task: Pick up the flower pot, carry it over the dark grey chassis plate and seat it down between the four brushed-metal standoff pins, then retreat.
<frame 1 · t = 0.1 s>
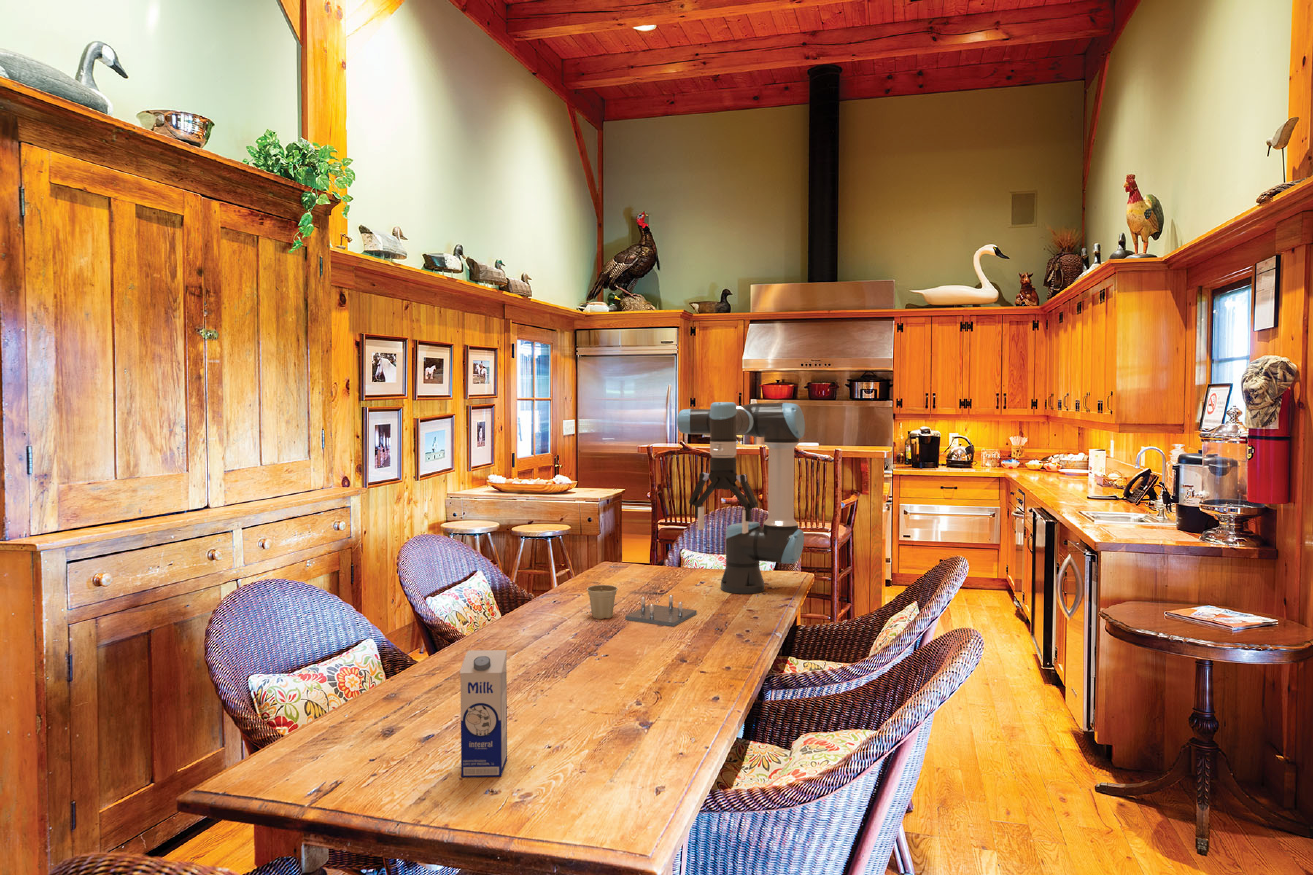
hand: (722, 531, 226), 28 cm above the table, fingers open, 13 cm apart
milk carton: (484, 769, 138), on the table
chassis: (661, 616, 239), on the table
flower pot: (602, 617, 240), on the table
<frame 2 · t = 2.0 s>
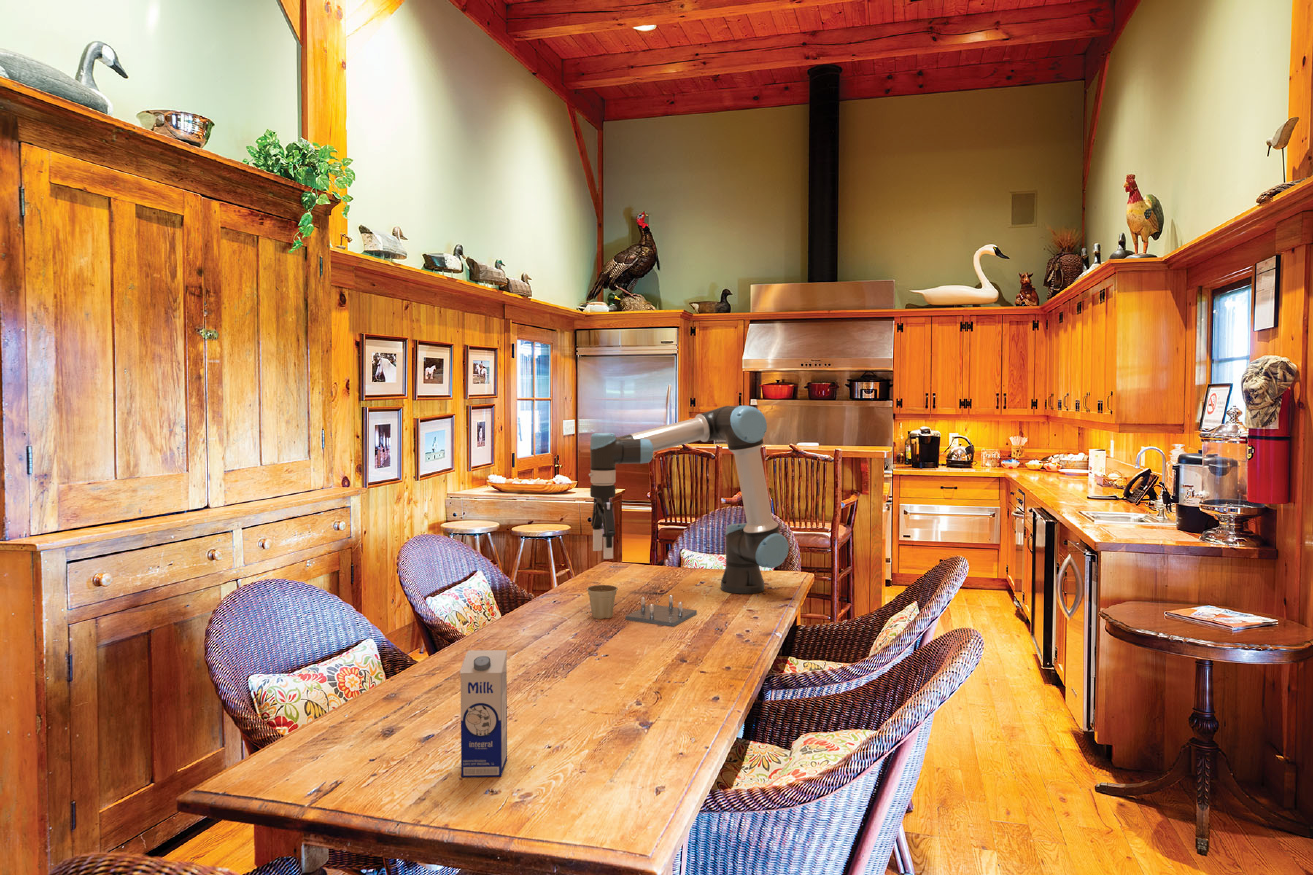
hand: (602, 554, 239), 19 cm above the table, fingers open, 13 cm apart
nothing on the table moved.
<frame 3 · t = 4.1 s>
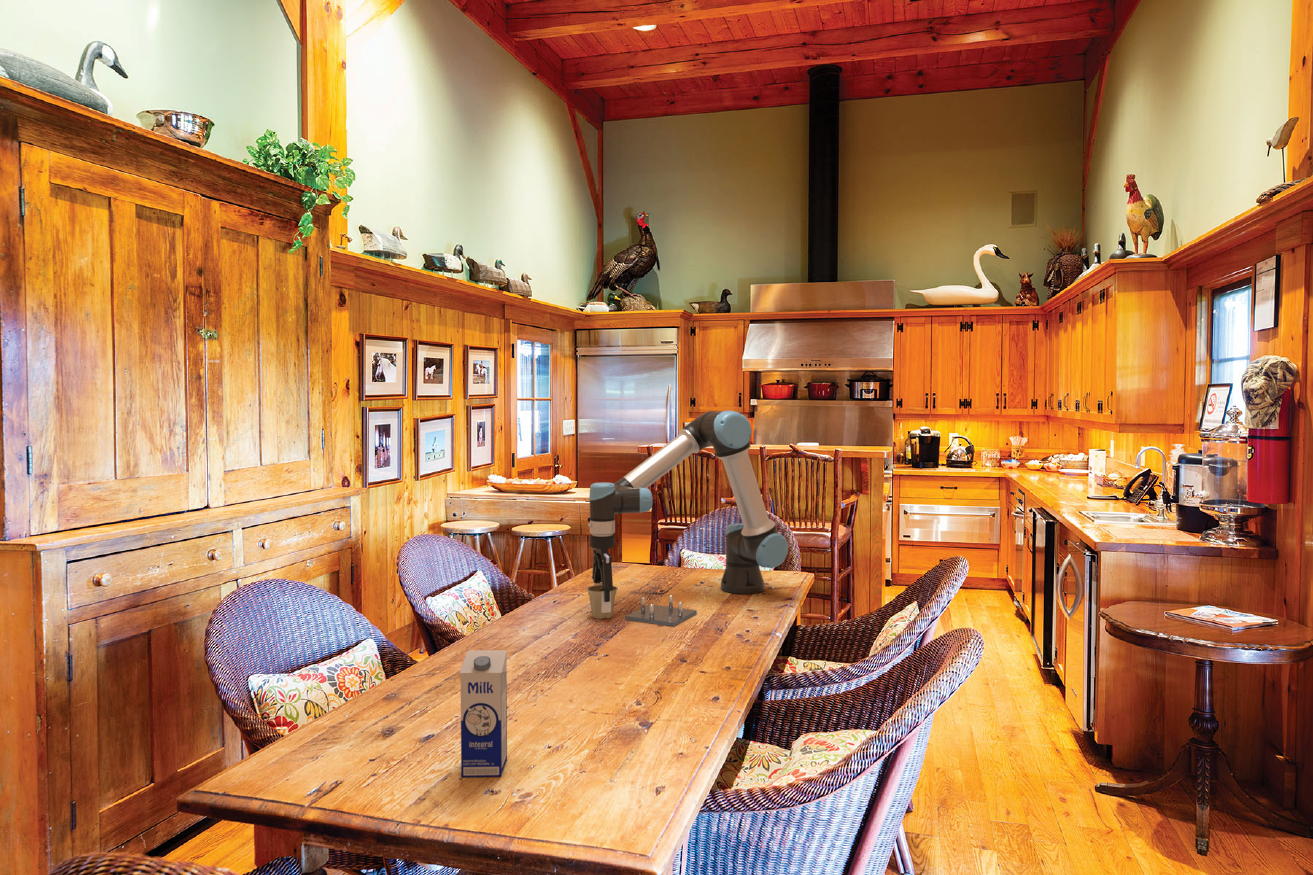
hand: (602, 608, 239), 3 cm above the table, fingers closed on flower pot, 9 cm apart
flower pot: (602, 617, 240), on the table, touching gripper
everything else where it was.
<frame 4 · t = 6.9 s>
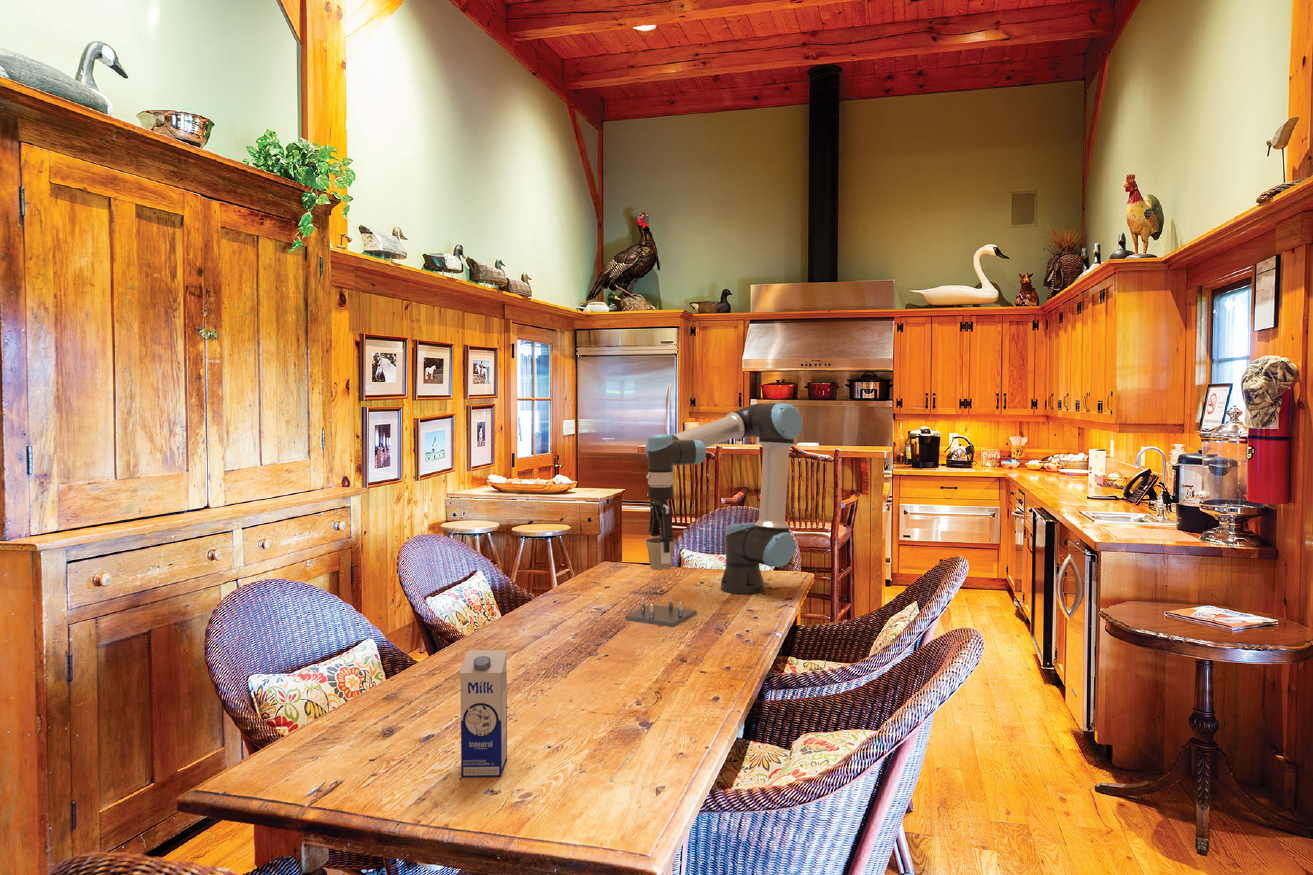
hand: (660, 560, 239), 17 cm above the table, fingers closed on flower pot, 9 cm apart
flower pot: (660, 569, 239), point 14 cm above the table, touching gripper
everything else where it was.
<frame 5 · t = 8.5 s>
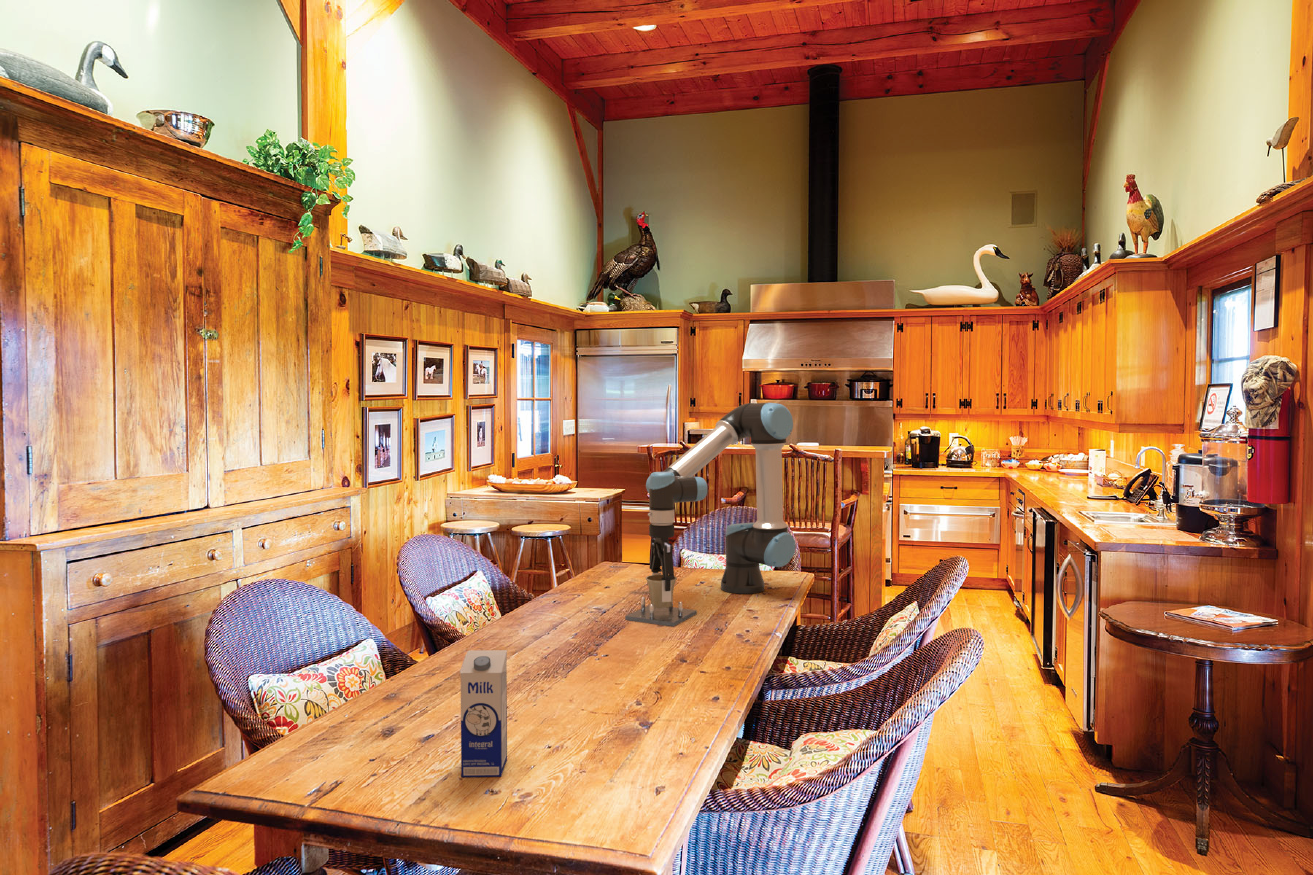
hand: (661, 597, 239), 6 cm above the table, fingers closed on flower pot, 9 cm apart
flower pot: (661, 606, 239), point 3 cm above the table, touching gripper
everything else where it was.
when the fingers open (5 cm above the table, at t = 9.5 s): flower pot drops 1 cm, resting on chassis.
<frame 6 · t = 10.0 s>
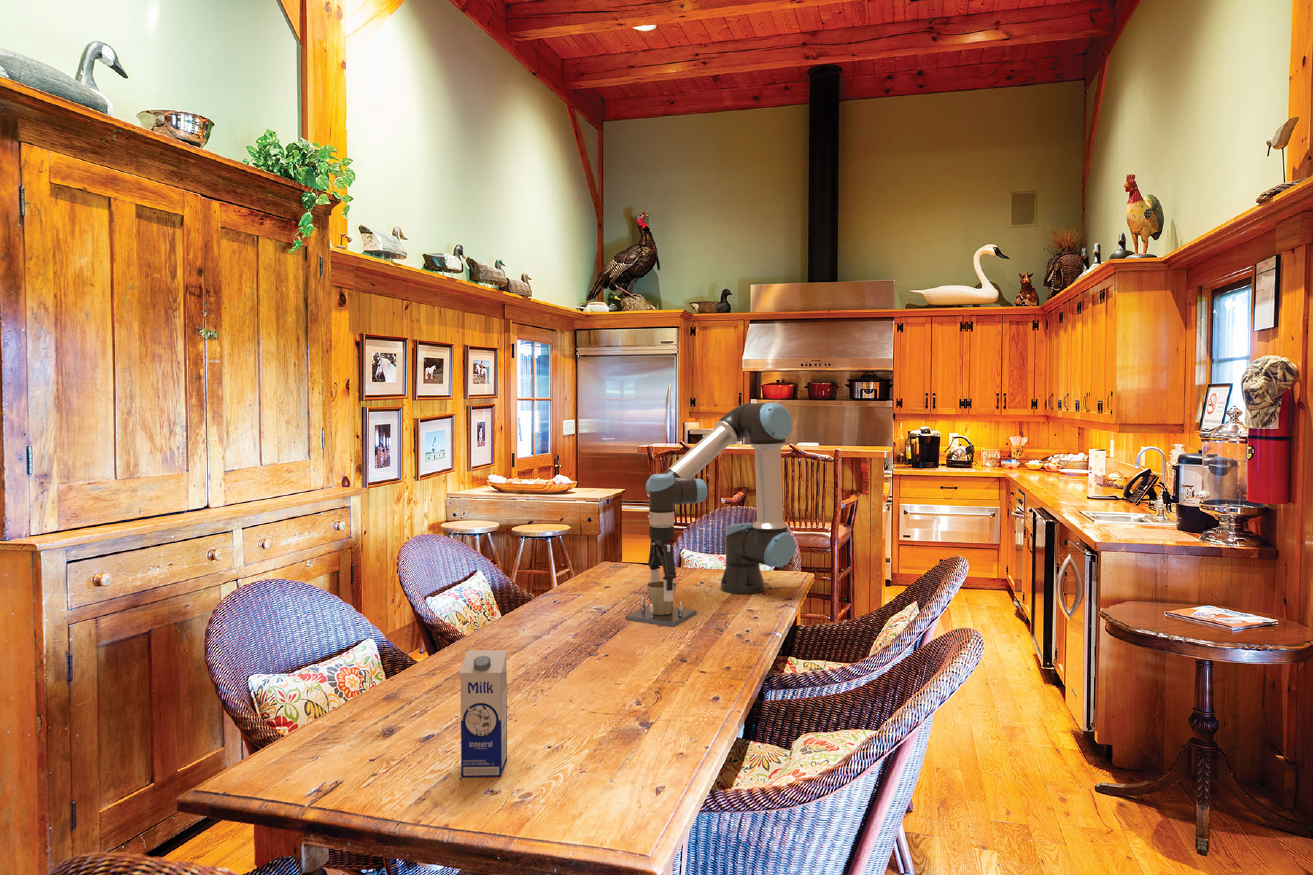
hand: (661, 595, 239), 6 cm above the table, fingers open, 13 cm apart
flower pot: (661, 613, 239), point 1 cm above the table, touching chassis
everything else where it was.
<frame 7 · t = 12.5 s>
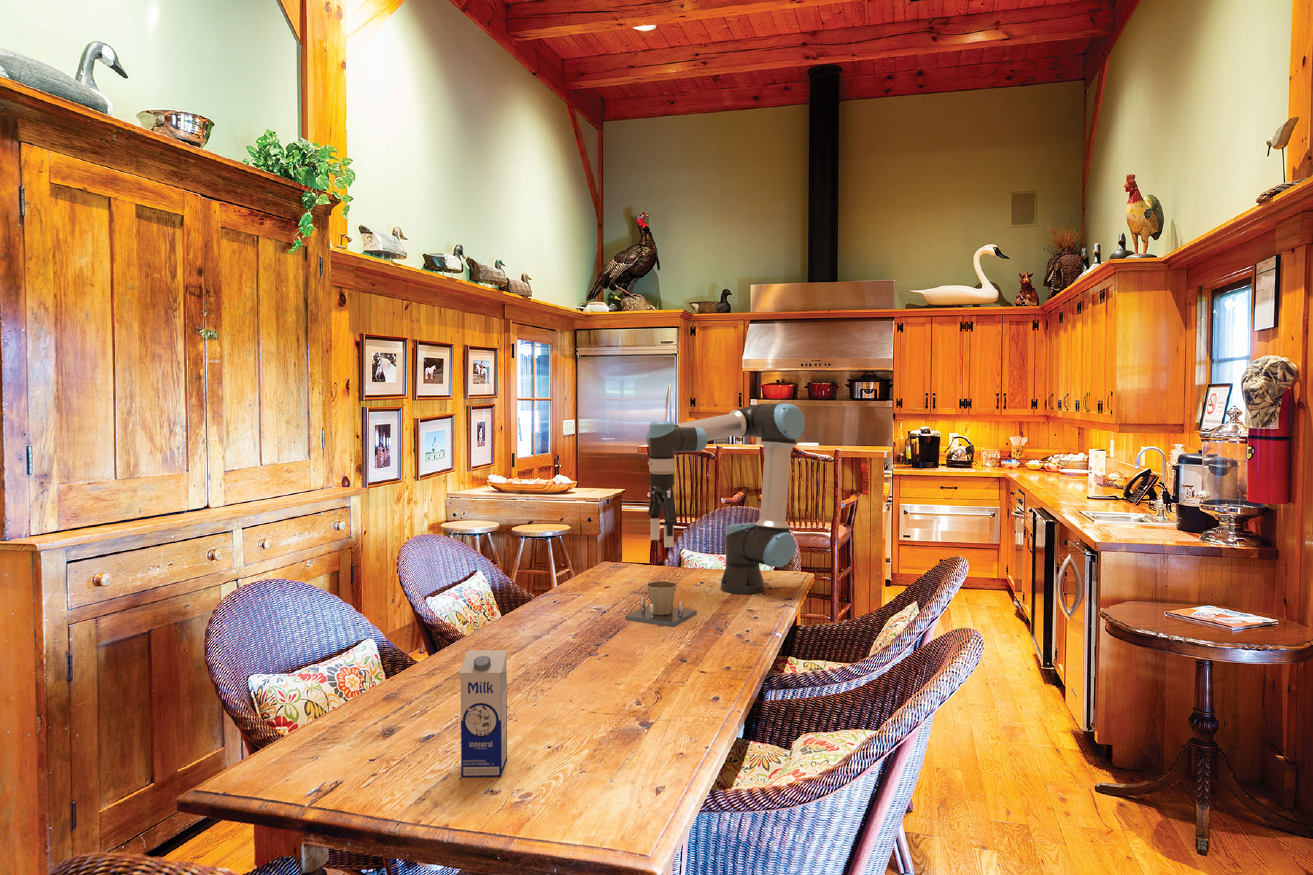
hand: (661, 543, 238), 22 cm above the table, fingers open, 13 cm apart
nothing on the table moved.
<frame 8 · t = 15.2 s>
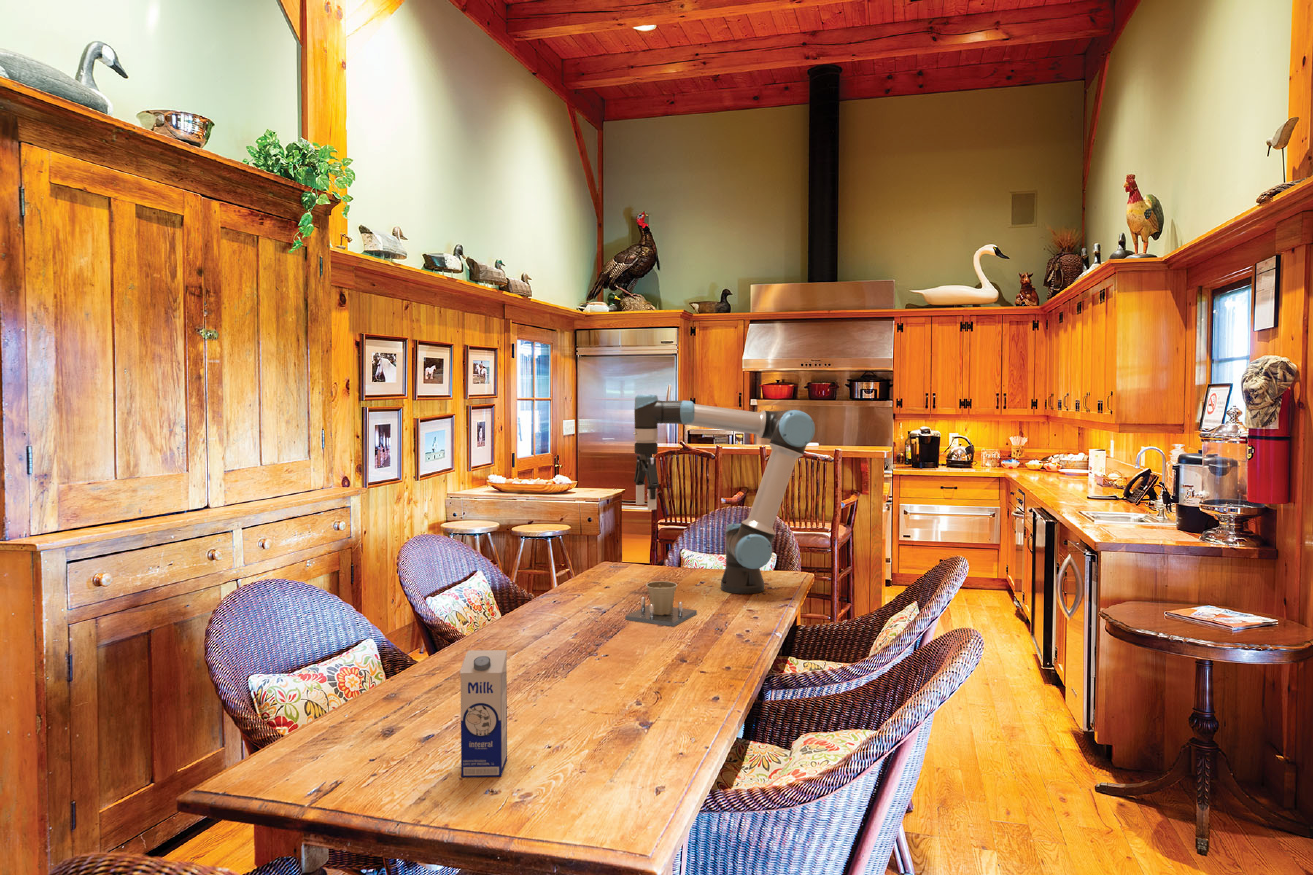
hand: (646, 507, 259), 31 cm above the table, fingers open, 13 cm apart
nothing on the table moved.
at the end: flower pot 0.1 cm off-centre on the chassis, point 1.0 cm above the chassis's base; flower pot tilted 0°; the gripper is holding nothing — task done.
